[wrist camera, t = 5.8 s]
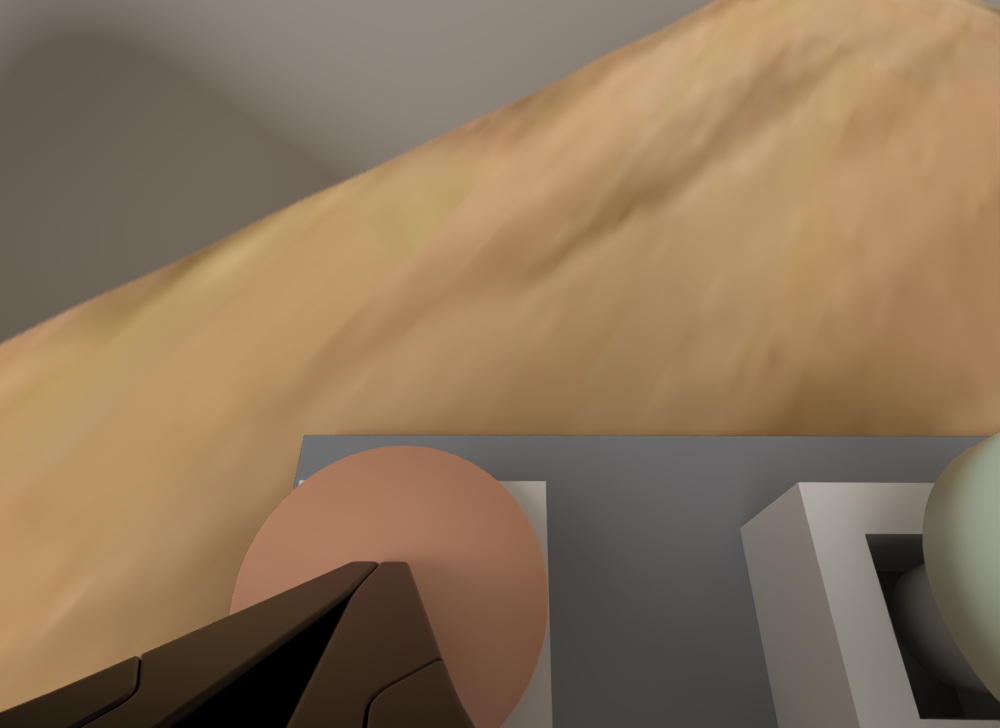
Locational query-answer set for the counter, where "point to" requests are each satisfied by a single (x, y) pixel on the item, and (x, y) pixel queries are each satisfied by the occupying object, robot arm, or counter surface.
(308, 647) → the robot arm
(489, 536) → the terracotta button
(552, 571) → the console
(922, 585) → the sage button
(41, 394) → the counter surface
